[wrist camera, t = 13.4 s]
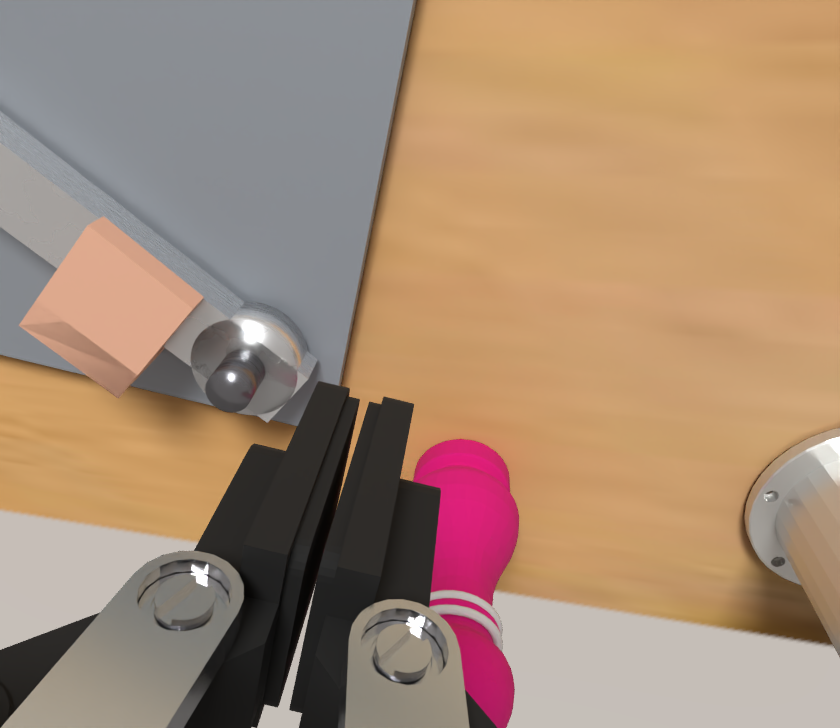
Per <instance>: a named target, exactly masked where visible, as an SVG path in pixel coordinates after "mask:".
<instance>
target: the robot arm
mask: <svg viewBox="0 0 840 728" xmlns="http://www.w3.org/2000/svg"><path fill="white" fill-rule="evenodd" d="M349 391H350V388H346V387H342V386H338V385H334V384H330V383H326V382H322V381H318V383H317V384H316V387H315V389H314V391H313V393H312V395H311V398H310V400H309V402H308V404H307V406H306V409H305V411H304V413H303V415H302V417H301V420H300V422H299V424H298V426H297V428H296V431H295V433H294V435H293V437H292V439H291V441H290V444H289V446H288V448H287V450H286V451H283V450H279V449H275V448H271V447H266V446H262V445H258V444H253V445H252V446H251V447H250V449H249V450H248V452H247V454H246V456H245V457H244V459H243V461H242V463H241V465H240V467H239V469H238V470H237V472H236V474H235V476H234V478H233V480H232V481H231V483H230V485H229V487H228V489H227V491H226V493H225V494H224V496H223V498H222V500H221V502H220V504H219V506H218V507H217V509H216V511H215V513H214V515H213V517H212V518H211V520H210V522H209V524H208V526H207V528H206V530H205V531H204V533H203V535H202V537H201V539H200V541H199V543H198V544H197V546H196V548H195V550H194V551H178V552H174V553H169V554H165V555H162V556H160V557H157V558H155V559H153V560H151V561H149V562H147V563H146V564H145V565H143V567H141V568H140V569H139V570H138V571H136V572H135V573H134V574H133V575H132V577H131V578H130V579H129V580H128V581H127V582H126V583H125V585H124V586H123V587H122V588H121V589H120V590H119V591H118V593H117V594H116V595H115V596H114V597H113V598H112V600H111V601H110V602H109V603H108V604H107V605H106V607H105V608H104V609H103V610H102V611H101V612H100V613H98V614H95V615H92V616H90V617H87V618H84V619H82V620H79V621H76V622H74V623H71V624H68V625H66V626H63V627H61V628H58V629H55V630H52V631H50V632H47V633H45V634H42V635H39V636H36V637H34V638H31V639H28V640H26V641H23V642H20V643H18V644H15V645H13V646H10V647H7V648H4V649H2V650H0V728H251V727H255V728H257V726H258V723H259V719H260V717H261V714H262V710H263V707H264V704H265V705H270V706H274V707H278V706H279V703H280V700H281V696H282V693H283V690H284V686H285V683H286V680H287V677H288V673H289V670H290V667H291V663H292V660H293V656H294V653H295V650H296V647H297V643H298V640H299V637H300V633H301V630H302V627H303V624H304V620H305V617H306V614H307V610H308V607H309V604H310V600H311V597H312V594H313V590H314V587H315V590H314V595H313V600H312V605H311V610H310V615H309V619H308V624H307V628H306V633H305V638H304V643H303V648H302V652H301V657H300V662H299V666H298V671H297V676H296V681H295V686H294V690H293V695H292V700H291V704H290V710H291V711H296V712H300V713H302V716H301V721H300V726H299V728H497V727H496V725H495V724H494V723H493V722H492V721H491V719H490V718H489V717H488V716H487V715H486V713H485V712H484V711H483V710H482V709H481V708H480V706H479V705H478V704H477V703H476V702H475V700H474V699H473V698H472V697H471V696H470V694H469V693H468V692H467V691H466V690H465V686H464V678H463V670H462V661H461V653H460V648H459V645H458V641H457V638H456V635H455V633H454V632H453V630H452V629H451V627H450V626H449V624H448V623H447V622H446V621H445V620H444V619H443V618H442V617H441V616H440V615H439V614H437V613H436V612H435V611H434V610H432V609H430V608H429V605H430V595H431V585H432V575H433V566H434V556H435V546H436V537H437V527H438V517H439V508H440V498H441V489H440V488H437V487H433V486H429V485H425V484H421V483H417V482H412V481H408V480H404V479H400V475H401V470H402V465H403V460H404V454H405V449H406V444H407V439H408V434H409V428H410V423H411V418H412V413H413V408H414V404H412V403H408V402H404V401H400V400H396V399H392V398H388V397H383V401H382V404H377V403H373V402H369V405H368V408H367V411H366V414H365V418H364V421H363V424H362V428H361V431H360V434H359V437H358V441H357V444H356V447H355V451H354V454H353V457H352V460H351V464H350V467H349V470H348V473H347V477H346V480H345V483H344V487H343V490H342V493H341V496H340V500H339V495H340V490H341V486H342V481H343V477H344V472H345V467H346V463H347V458H348V453H349V449H350V444H351V439H352V435H353V430H354V425H355V421H356V416H357V411H358V407H359V401H360V399H356V398H352V397H349ZM338 500H339V503H338ZM337 504H338V506H337ZM336 509H337V510H336ZM744 518H745V526H746V532H747V535H748V537H749V540H750V542H751V544H752V547H753V548H754V550H755V552H756V554H757V555H758V557H759V559H760V560H761V561H762V562H763V563H764V564H765V565H766V567H768V568H769V569H770V570H771V571H773V572H774V573H776V574H777V575H779V576H780V577H782V578H784V579H786V580H789V581H791V582H793V583H796V584H798V585H802V587H803V589H804V591H805V593H806V595H807V596H808V598H809V600H810V602H811V604H812V606H813V608H814V610H815V612H816V613H817V615H818V617H819V619H820V621H821V623H822V625H823V627H824V629H825V631H826V632H827V634H828V636H829V638H830V640H831V642H832V644H833V646H834V648H835V649H836V651H837V653H838V655H839V657H840V428H837V429H832V430H829V431H826V432H823V433H821V434H818V435H815V436H813V437H810V438H808V439H806V440H804V441H803V442H801V443H799V444H797V445H795V446H793V447H791V448H790V449H789V450H787V451H786V452H785V453H783V454H782V455H781V456H779V457H778V458H777V459H775V460H774V461H773V462H772V463H771V464H770V465H769V466H768V468H767V469H766V470H765V471H764V472H763V473H762V474H761V475H760V477H759V478H758V480H757V481H756V483H755V485H754V486H753V488H752V490H751V492H750V495H749V497H748V500H747V503H746V509H745V517H744ZM315 584H316V586H315Z"/></svg>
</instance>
